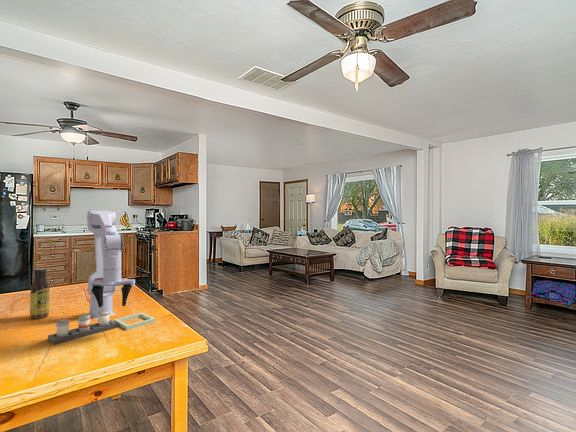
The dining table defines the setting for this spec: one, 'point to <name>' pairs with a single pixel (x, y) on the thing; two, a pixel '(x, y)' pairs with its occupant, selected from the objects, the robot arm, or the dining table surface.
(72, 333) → the fuse block
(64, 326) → the fuse
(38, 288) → the sauce bottle
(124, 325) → the tray
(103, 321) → the fuse
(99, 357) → the dining table surface
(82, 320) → the fuse marked
